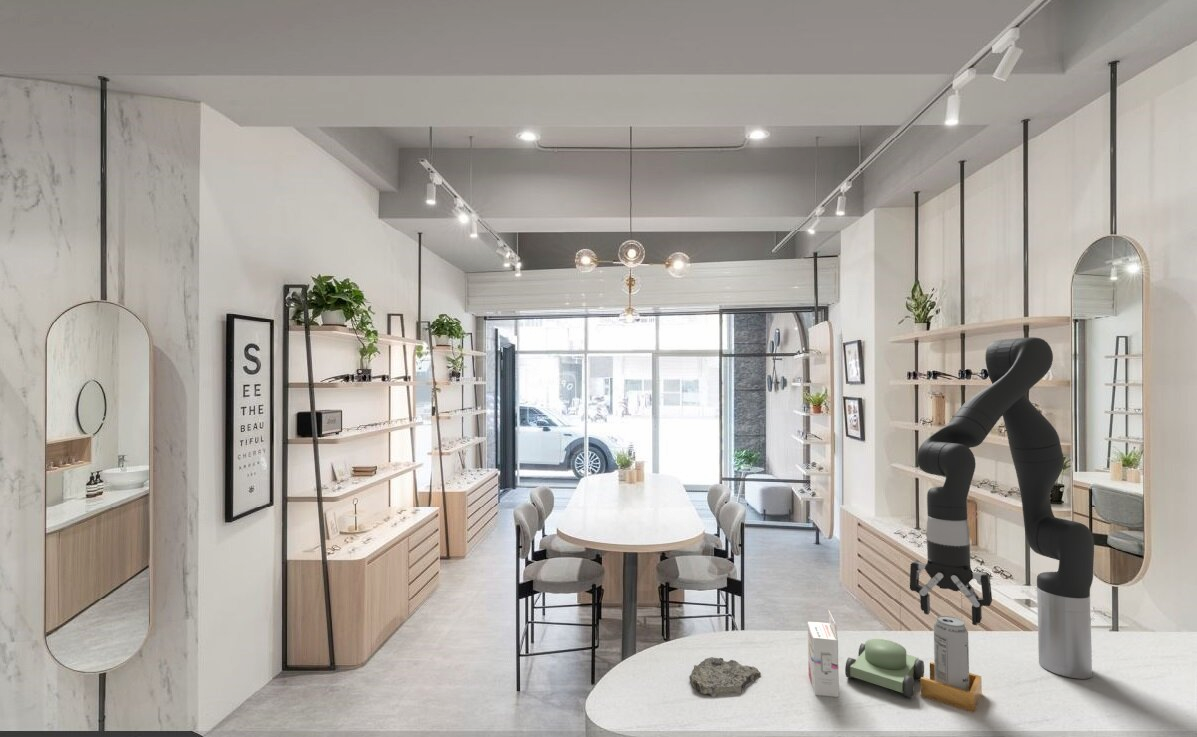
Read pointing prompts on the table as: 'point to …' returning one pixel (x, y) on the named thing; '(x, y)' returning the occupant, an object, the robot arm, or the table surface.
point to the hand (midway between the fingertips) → (950, 618)
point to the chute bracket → (952, 691)
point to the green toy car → (886, 666)
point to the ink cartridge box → (823, 657)
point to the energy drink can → (951, 652)
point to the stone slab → (721, 676)
